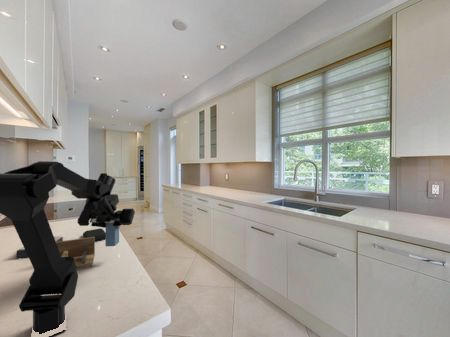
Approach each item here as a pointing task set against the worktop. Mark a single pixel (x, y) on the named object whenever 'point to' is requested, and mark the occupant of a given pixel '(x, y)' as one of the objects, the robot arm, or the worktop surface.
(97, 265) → the worktop surface
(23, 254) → the calculator
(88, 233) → the carrying case or bag
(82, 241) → the stand
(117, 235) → the blue tall block
